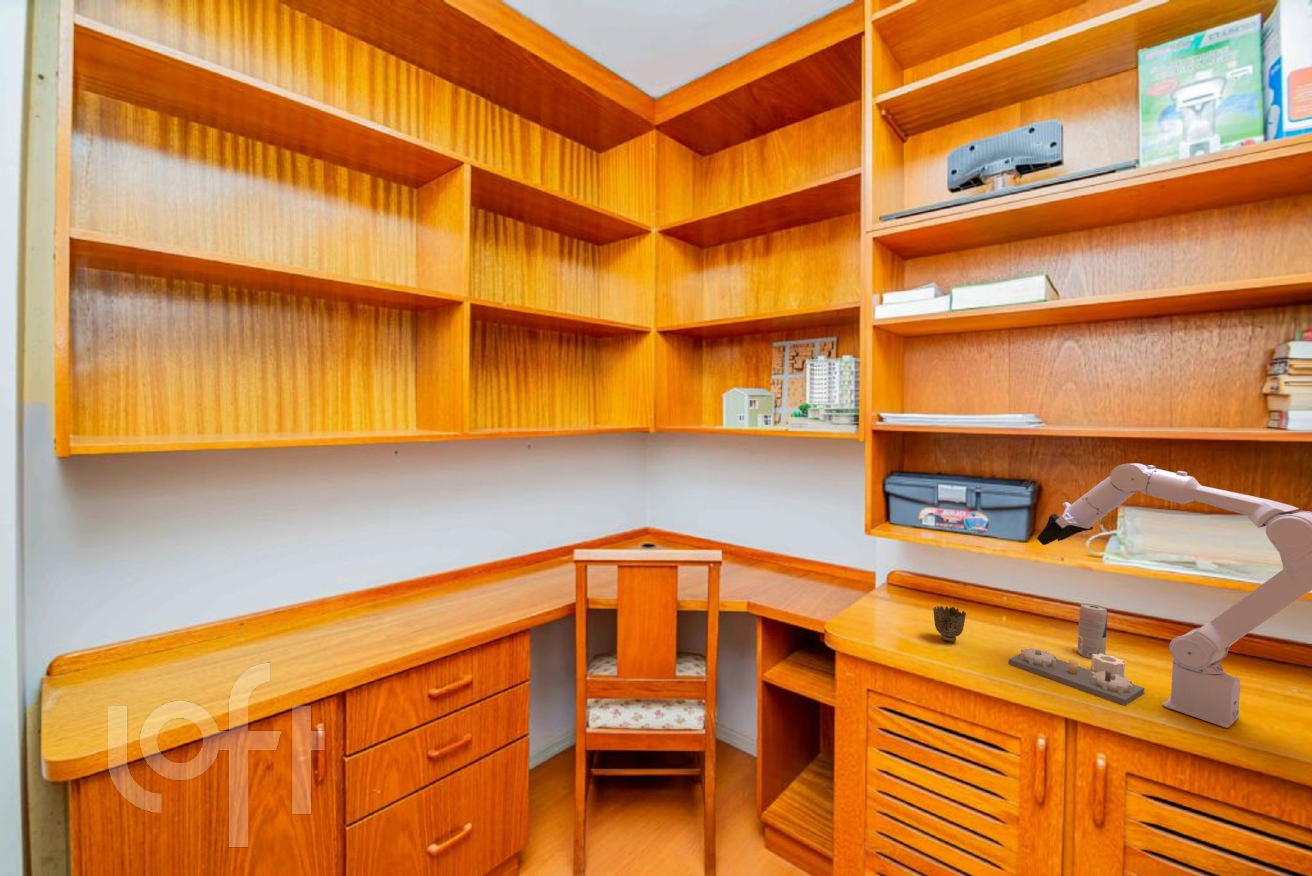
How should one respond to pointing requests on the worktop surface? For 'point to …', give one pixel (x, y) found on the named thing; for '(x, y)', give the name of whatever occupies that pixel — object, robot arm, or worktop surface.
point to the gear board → (1078, 676)
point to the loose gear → (1108, 664)
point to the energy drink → (1092, 630)
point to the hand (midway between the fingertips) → (1048, 539)
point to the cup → (949, 622)
